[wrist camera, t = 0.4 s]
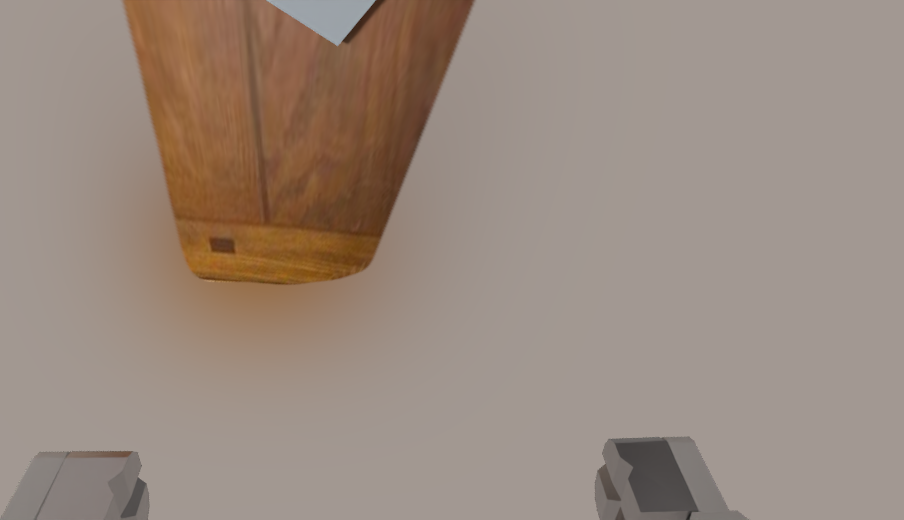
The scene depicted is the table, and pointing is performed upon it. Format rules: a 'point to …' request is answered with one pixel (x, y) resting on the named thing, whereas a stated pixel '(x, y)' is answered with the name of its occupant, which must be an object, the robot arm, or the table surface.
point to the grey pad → (326, 15)
